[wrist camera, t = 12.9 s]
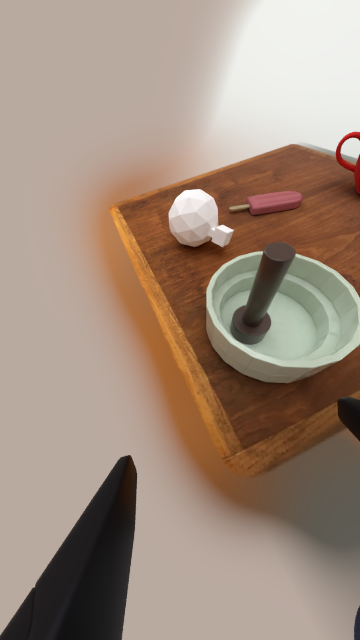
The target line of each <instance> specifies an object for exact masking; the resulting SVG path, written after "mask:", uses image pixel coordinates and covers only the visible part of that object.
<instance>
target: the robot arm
mask: <svg viewBox="0 0 360 640" xmlns="http://www.w3.org/2000/svg"><path fill="white" fill-rule="evenodd" d="M337 404H338V416H339V419H340V420H341V421H342V423H343V424H344V425H345V426H346V427H347V428H348V429H349V430H350V431H351V432H352V433H353V435H354V436H355V437H356V438H357V439H358V440H359V441H360V400H358V399H355V398H351V397H344V398H341V399H338V401H337ZM136 489H137V472H136V468H135V465H134V462H133V460H132V457H131V456H130V455H128V456H124V457H121V458H120V459H119V460H118V461H117V463H116V464H115V466H114V467H113V469H112V470H111V472H110V473H109V475H108V477H107V478H106V479H105V481H104V482H103V484H102V485H101V487H100V488H99V490H98V492H97V493H96V494H95V496H94V497H93V499H92V500H91V502H90V503H89V505H88V506H87V508H86V509H85V511H84V512H83V514H82V515H81V517H80V518H79V520H78V521H77V523H76V524H75V526H74V527H73V529H72V530H71V532H70V533H69V535H68V536H67V538H66V539H65V541H64V542H63V544H62V545H61V547H60V548H59V550H58V551H57V553H56V554H55V556H54V557H53V559H52V560H51V561H50V563H49V564H48V566H47V568H46V569H45V571H44V572H43V573H42V575H41V577H40V578H39V580H38V581H37V582H36V585H35V587H34V588H32V590H31V591H30V593H29V594H28V596H27V597H26V599H25V600H24V602H23V603H22V605H21V606H20V608H19V609H18V611H17V612H16V614H15V615H14V617H13V618H12V619H11V621H10V622H9V624H8V625H7V627H6V628H5V630H4V631H3V632H2V634H1V635H0V640H122V631H123V623H124V615H125V607H126V598H127V590H128V582H129V573H130V565H131V557H132V548H133V540H134V531H135V514H136Z"/></svg>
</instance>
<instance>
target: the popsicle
mask: <svg viewBox="0 0 360 640" xmlns="http://www.w3.org/2000/svg"><path fill="white" fill-rule="evenodd" d="M302 199H303V197H302V195H301V194H300V193H298V192H294V191H284V192H277V193H270V194H263V195H257V196H250V197H247V199H246V205H240V206H234V207H230V209H229V210H230V211H234V210H240V209H247V208H248V209H249V210H250V212H251V214H252V215H259V214H265V213H272V212H278V211H284V210H290V209H294V208H297V207H298V206H299V205H300V204H301V201H302Z"/></svg>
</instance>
